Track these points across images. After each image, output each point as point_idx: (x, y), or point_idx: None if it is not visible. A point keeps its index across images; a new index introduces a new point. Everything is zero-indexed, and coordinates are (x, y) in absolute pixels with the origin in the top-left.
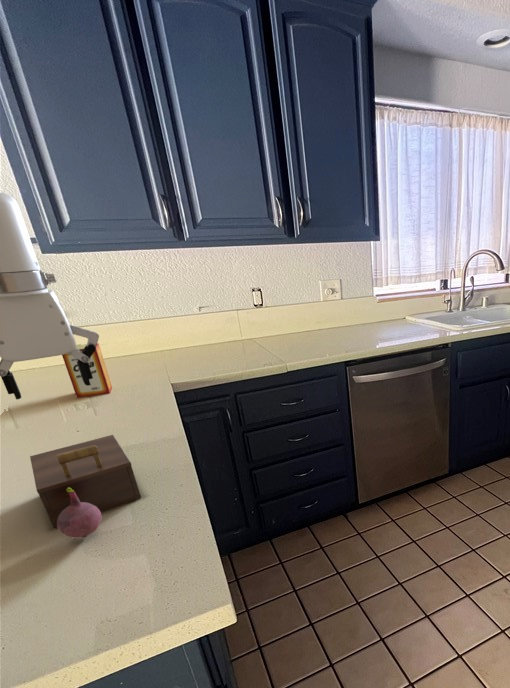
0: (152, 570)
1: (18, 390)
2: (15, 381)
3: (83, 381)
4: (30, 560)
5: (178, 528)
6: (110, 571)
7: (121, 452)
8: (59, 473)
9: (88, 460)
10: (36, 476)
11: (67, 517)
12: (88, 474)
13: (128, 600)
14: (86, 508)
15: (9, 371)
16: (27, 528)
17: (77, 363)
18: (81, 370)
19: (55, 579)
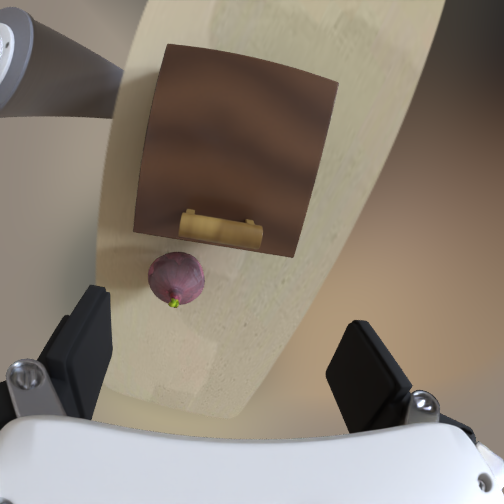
0: (212, 367)
1: (104, 374)
2: (91, 352)
3: (345, 336)
4: (116, 256)
5: (266, 329)
6: (181, 342)
7: (305, 198)
8: (180, 192)
9: (243, 178)
10: (144, 167)
11: (160, 297)
12: (218, 245)
13: (182, 382)
14: (186, 299)
15: (70, 411)
16: (125, 167)
17: (378, 399)
18: (346, 420)
19: (134, 313)
